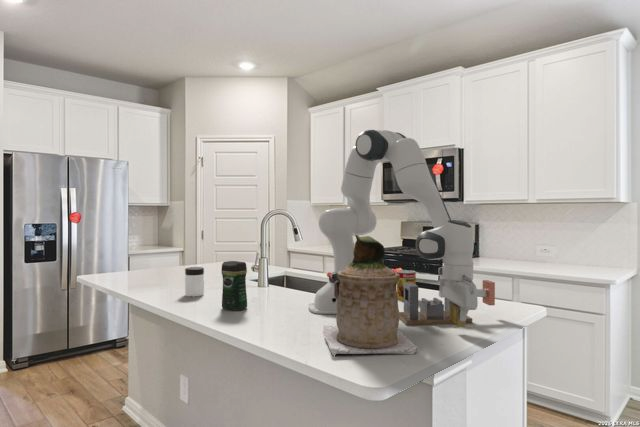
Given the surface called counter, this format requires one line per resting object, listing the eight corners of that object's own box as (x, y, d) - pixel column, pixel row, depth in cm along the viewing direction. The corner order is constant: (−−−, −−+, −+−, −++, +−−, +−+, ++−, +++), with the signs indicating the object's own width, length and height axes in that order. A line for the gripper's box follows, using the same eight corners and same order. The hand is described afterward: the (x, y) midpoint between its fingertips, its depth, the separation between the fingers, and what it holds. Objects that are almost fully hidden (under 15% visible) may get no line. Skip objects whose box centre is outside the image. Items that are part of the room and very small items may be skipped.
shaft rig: (406, 325, 149) (406, 288, 148) (396, 316, 161) (396, 281, 160) (472, 323, 151) (472, 286, 151) (457, 314, 163) (457, 280, 163)
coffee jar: (250, 307, 175) (250, 260, 175) (237, 312, 168) (236, 263, 168) (232, 305, 180) (231, 259, 180) (218, 309, 173) (217, 261, 173)
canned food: (407, 302, 183) (407, 273, 183) (392, 299, 189) (392, 271, 189) (419, 299, 188) (419, 271, 188) (404, 296, 194) (404, 269, 194)
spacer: (457, 327, 135) (457, 307, 135) (449, 321, 141) (449, 302, 141) (465, 326, 136) (465, 307, 136) (457, 321, 142) (457, 302, 141)
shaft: (442, 306, 154) (442, 283, 153) (437, 303, 159) (437, 281, 158) (494, 305, 156) (494, 282, 155) (487, 302, 161) (487, 279, 160)
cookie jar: (420, 355, 120) (420, 236, 119) (329, 358, 118) (328, 237, 117) (397, 329, 144) (397, 230, 144) (321, 331, 142) (320, 231, 142)
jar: (203, 296, 197) (203, 269, 197) (184, 297, 195) (184, 270, 195) (204, 292, 206) (204, 266, 206) (186, 293, 204) (185, 267, 204)
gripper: (483, 279, 128) (482, 326, 129) (454, 267, 148) (453, 309, 149) (462, 279, 127) (461, 327, 128) (436, 267, 148) (435, 309, 148)
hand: (457, 317), depth 138 cm, fingers closed on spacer, 6 cm apart
